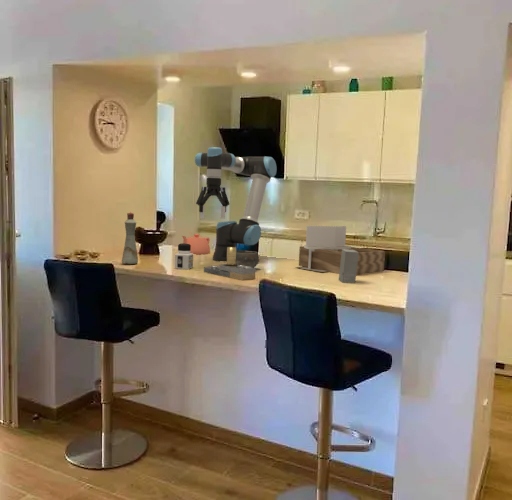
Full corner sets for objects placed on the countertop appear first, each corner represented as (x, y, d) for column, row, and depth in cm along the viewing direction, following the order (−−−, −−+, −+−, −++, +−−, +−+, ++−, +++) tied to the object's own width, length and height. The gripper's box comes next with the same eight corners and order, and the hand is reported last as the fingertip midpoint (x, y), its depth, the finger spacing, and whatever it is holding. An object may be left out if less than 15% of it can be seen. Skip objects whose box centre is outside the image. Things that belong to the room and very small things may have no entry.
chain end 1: (216, 270, 297) (216, 264, 296) (242, 276, 282) (243, 269, 281) (203, 272, 291) (204, 265, 291) (229, 277, 276) (229, 270, 276)
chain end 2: (231, 274, 288) (232, 262, 287) (255, 279, 275) (256, 266, 274) (218, 275, 282) (219, 263, 282) (242, 280, 269) (243, 267, 268)
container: (188, 269, 298) (189, 244, 296) (174, 268, 299) (174, 243, 298) (193, 267, 305) (193, 243, 304) (179, 266, 307) (179, 242, 305)
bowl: (261, 269, 308) (262, 251, 307) (252, 273, 293) (253, 253, 292) (237, 267, 312) (238, 249, 311) (227, 271, 298) (227, 251, 297)
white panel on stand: (326, 264, 336) (328, 224, 333) (355, 268, 320) (357, 226, 318) (293, 267, 317) (294, 224, 315) (321, 271, 302) (323, 227, 299)
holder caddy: (332, 264, 341) (333, 244, 340) (383, 272, 314) (385, 251, 313) (298, 267, 321) (299, 246, 320) (350, 276, 294) (351, 253, 293)
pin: (237, 276, 282) (238, 247, 280) (230, 276, 279) (231, 248, 277) (231, 274, 285) (232, 246, 284) (224, 275, 282) (225, 247, 281)
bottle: (117, 263, 309) (118, 211, 306) (127, 262, 318) (128, 211, 315) (131, 265, 306) (132, 212, 303) (141, 263, 314) (142, 212, 312)
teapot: (191, 257, 348) (191, 235, 347) (171, 255, 358) (172, 233, 357) (218, 255, 368) (218, 234, 367) (198, 252, 378) (199, 232, 377)
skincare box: (338, 281, 278) (339, 248, 276) (352, 281, 279) (354, 249, 277) (342, 284, 270) (344, 250, 268) (357, 284, 270) (359, 251, 269)
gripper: (227, 178, 307) (226, 218, 310) (190, 176, 291) (188, 218, 293) (236, 178, 302) (235, 218, 304) (199, 176, 285) (197, 219, 287)
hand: (212, 218), depth 299 cm, fingers open, 13 cm apart
